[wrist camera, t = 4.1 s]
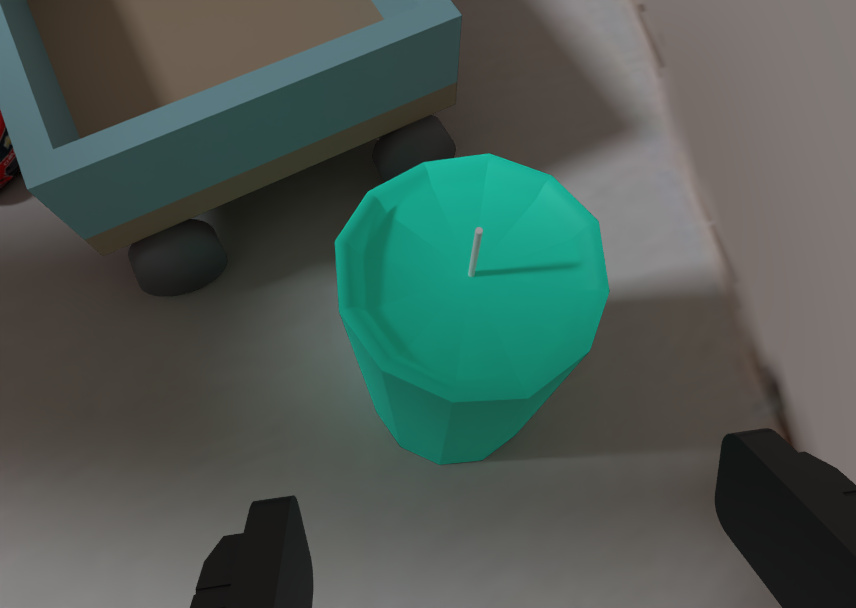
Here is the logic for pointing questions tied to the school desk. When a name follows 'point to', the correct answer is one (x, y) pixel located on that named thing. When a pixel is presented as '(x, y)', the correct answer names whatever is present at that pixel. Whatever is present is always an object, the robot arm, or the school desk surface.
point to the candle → (468, 300)
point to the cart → (211, 108)
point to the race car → (6, 155)
